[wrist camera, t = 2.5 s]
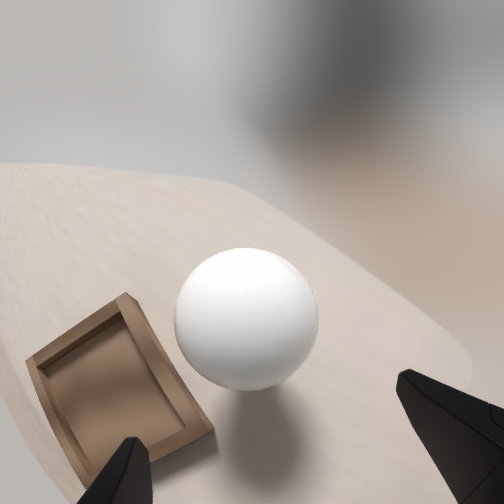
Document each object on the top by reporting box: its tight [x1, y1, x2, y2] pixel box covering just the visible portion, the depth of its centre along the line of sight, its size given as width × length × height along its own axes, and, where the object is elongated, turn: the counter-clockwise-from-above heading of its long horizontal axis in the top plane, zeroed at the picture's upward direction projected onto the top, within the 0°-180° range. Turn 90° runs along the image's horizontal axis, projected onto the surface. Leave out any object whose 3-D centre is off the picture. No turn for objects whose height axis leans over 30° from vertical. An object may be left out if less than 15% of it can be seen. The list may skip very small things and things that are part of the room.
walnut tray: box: [25, 292, 214, 489], centre depth 18 cm, size 11×11×2 cm
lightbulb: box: [174, 248, 319, 391], centre depth 15 cm, size 6×6×11 cm
